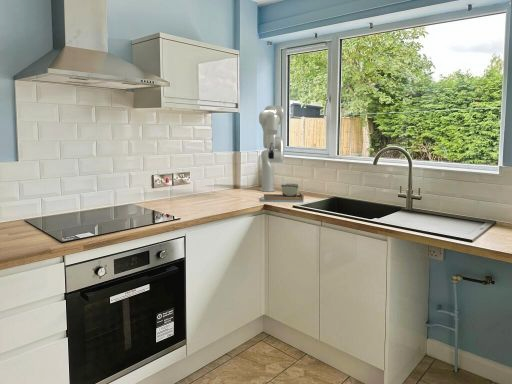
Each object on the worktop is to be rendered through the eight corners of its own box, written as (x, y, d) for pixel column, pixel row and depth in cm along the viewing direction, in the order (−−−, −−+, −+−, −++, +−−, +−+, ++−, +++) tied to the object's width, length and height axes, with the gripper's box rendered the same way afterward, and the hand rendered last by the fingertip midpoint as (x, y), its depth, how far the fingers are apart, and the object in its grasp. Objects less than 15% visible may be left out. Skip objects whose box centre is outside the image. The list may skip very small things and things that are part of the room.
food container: (300, 198, 285) (301, 184, 283) (298, 199, 279) (298, 185, 277) (283, 197, 289) (283, 182, 287) (280, 198, 283) (281, 183, 282)
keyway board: (261, 198, 288) (261, 191, 288) (301, 199, 289) (301, 191, 288) (261, 201, 277) (261, 193, 276) (303, 202, 277) (303, 194, 276)
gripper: (265, 132, 288) (264, 157, 291) (266, 132, 271) (265, 159, 274) (276, 132, 289) (275, 157, 291) (278, 133, 271) (277, 159, 274)
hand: (270, 158), depth 283 cm, fingers open, 9 cm apart
